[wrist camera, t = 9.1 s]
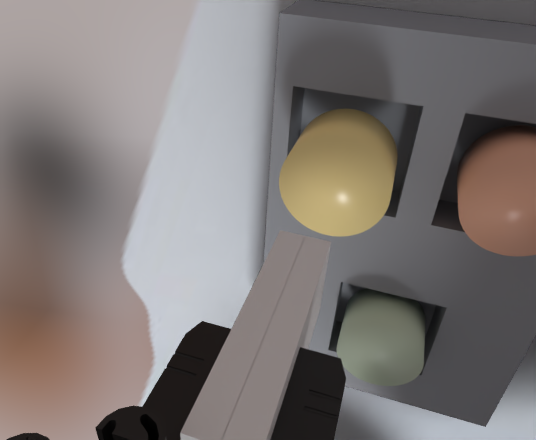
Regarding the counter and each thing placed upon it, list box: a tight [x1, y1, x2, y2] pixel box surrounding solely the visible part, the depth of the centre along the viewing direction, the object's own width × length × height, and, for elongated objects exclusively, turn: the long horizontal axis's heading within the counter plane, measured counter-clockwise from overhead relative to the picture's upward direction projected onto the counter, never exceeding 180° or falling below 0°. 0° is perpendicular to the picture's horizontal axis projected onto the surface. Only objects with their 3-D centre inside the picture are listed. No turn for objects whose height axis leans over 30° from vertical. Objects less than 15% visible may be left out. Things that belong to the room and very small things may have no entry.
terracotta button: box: [457, 125, 536, 256], centre depth 19 cm, size 4×4×3 cm
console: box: [264, 0, 536, 427], centre depth 25 cm, size 14×21×4 cm, turn 178°
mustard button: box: [279, 109, 398, 237], centre depth 20 cm, size 4×4×3 cm
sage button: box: [337, 288, 426, 386], centre depth 26 cm, size 4×4×3 cm
